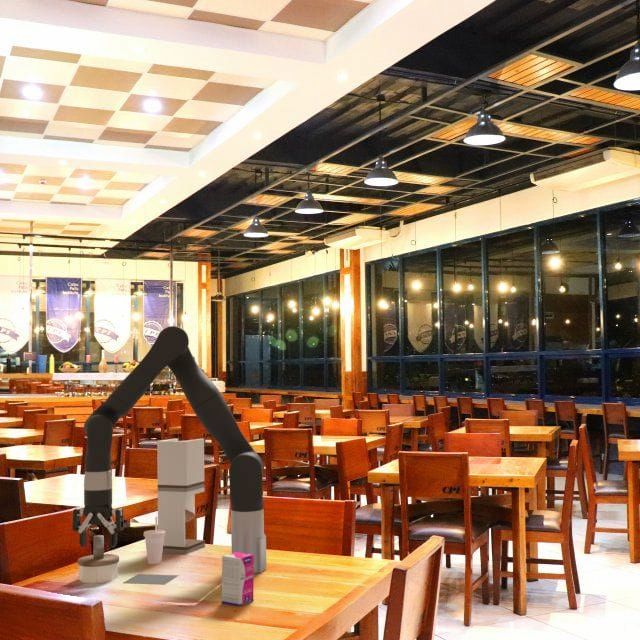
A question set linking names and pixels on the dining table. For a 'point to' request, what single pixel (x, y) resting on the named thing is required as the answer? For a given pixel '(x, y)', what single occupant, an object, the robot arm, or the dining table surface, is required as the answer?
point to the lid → (98, 555)
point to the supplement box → (237, 578)
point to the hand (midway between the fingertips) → (98, 546)
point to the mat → (151, 579)
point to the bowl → (98, 573)
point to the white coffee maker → (179, 491)
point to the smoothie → (154, 544)
